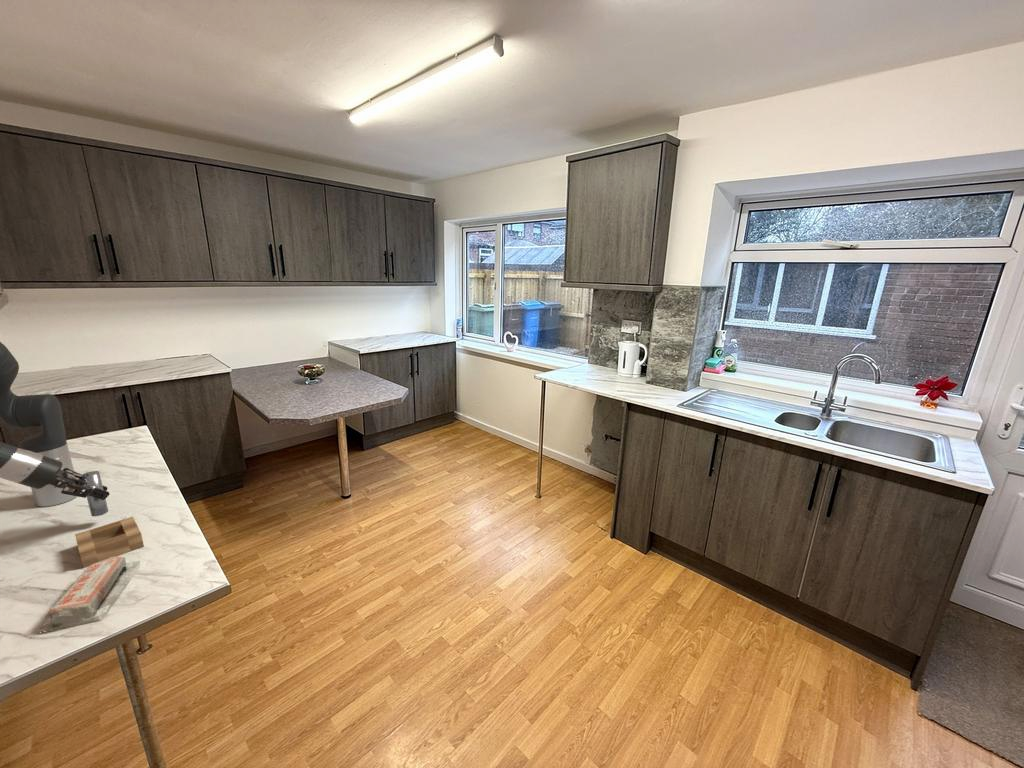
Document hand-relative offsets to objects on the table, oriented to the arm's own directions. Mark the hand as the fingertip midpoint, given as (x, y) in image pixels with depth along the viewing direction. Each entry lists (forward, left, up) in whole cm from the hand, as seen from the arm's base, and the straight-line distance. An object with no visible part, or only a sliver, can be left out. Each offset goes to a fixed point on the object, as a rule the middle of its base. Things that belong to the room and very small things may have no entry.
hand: (105, 493), depth 114 cm
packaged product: (+34, -7, -9) cm, 36 cm away
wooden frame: (+15, -2, -9) cm, 18 cm away
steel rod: (0, -2, -5) cm, 6 cm away
